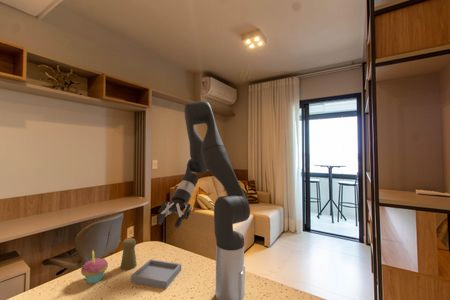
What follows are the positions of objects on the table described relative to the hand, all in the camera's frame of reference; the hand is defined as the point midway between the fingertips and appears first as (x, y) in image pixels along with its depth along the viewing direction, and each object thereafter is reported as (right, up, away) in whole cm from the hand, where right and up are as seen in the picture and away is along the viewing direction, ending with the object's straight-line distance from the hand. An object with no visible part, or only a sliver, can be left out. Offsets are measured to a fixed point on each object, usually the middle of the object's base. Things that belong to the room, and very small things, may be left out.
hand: (167, 225), depth 89 cm
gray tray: (-2, -17, -7) cm, 18 cm away
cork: (-16, -17, -1) cm, 23 cm away
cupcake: (-24, -17, -10) cm, 31 cm away
